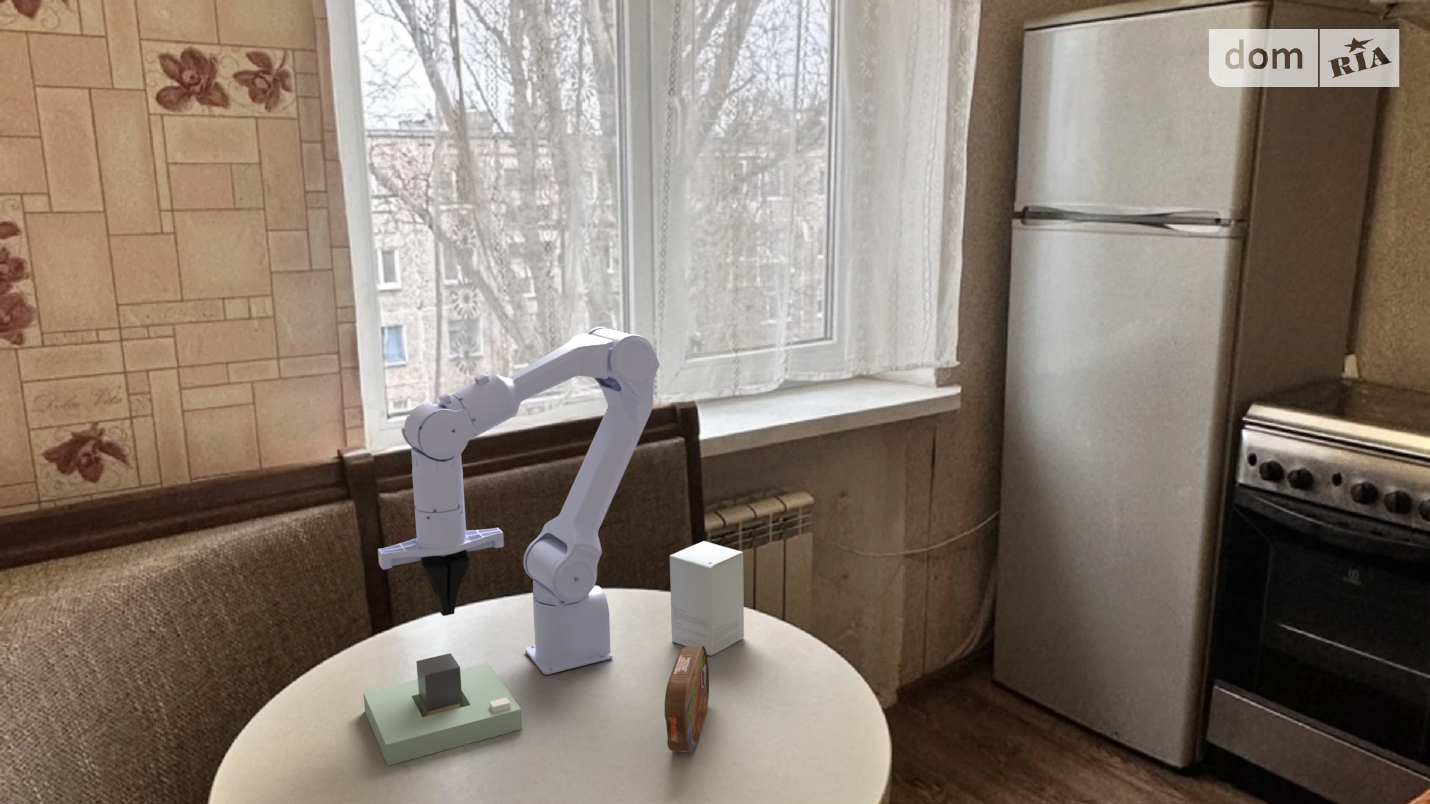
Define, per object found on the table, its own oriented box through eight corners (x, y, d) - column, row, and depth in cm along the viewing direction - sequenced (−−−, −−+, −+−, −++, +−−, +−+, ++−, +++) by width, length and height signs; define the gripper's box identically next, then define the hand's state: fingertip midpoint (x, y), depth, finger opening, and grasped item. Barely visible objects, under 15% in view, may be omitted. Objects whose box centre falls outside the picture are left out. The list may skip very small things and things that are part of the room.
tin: (690, 768, 107) (689, 696, 105) (661, 766, 107) (660, 694, 106) (711, 698, 121) (711, 634, 120) (685, 696, 122) (685, 632, 120)
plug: (454, 707, 120) (450, 653, 118) (463, 722, 116) (459, 667, 115) (420, 715, 118) (416, 661, 116) (428, 731, 114) (424, 675, 113)
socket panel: (488, 680, 126) (487, 657, 125) (522, 728, 115) (520, 703, 114) (364, 711, 119) (362, 686, 118) (387, 765, 108) (385, 738, 107)
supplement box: (745, 638, 137) (745, 551, 134) (710, 657, 132) (709, 567, 129) (705, 623, 142) (704, 539, 139) (669, 641, 136) (668, 554, 134)
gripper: (488, 487, 125) (494, 588, 128) (369, 505, 118) (377, 612, 121) (507, 502, 119) (512, 608, 122) (382, 522, 112) (391, 635, 115)
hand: (446, 612), depth 121 cm, fingers closed
